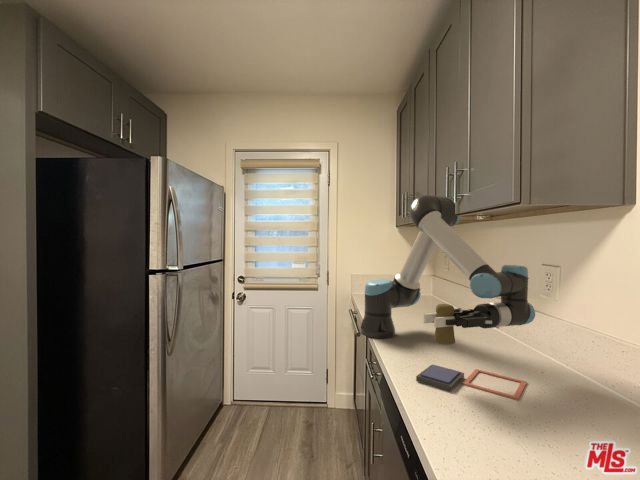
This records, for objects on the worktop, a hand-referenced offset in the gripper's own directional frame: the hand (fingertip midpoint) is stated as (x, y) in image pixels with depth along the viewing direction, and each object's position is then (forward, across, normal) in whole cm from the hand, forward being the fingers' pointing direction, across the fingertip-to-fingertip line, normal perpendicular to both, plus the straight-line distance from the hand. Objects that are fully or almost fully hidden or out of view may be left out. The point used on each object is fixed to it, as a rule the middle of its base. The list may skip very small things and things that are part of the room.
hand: (430, 320), depth 97 cm
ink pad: (-5, 0, -18) cm, 19 cm away
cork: (-5, 0, -7) cm, 9 cm away
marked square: (-18, -7, -18) cm, 26 cm away
